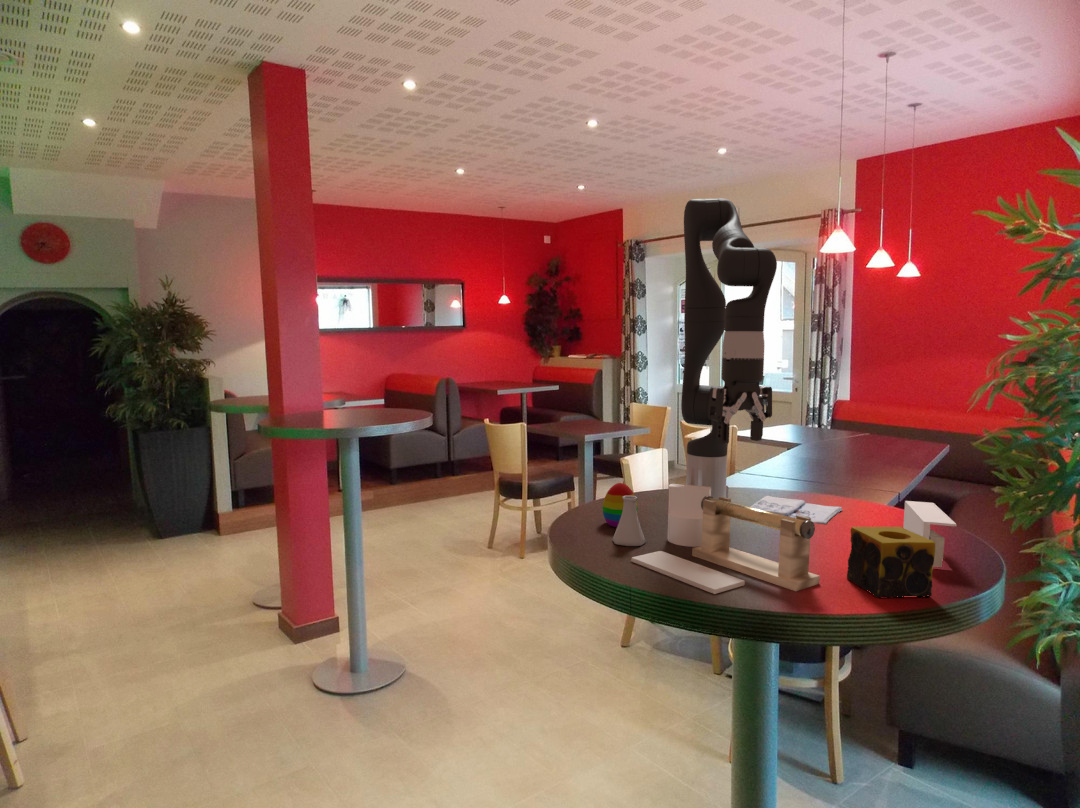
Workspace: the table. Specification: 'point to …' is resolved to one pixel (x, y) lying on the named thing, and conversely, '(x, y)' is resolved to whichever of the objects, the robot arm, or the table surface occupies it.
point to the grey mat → (688, 572)
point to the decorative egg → (615, 503)
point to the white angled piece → (927, 524)
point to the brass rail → (761, 517)
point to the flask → (629, 525)
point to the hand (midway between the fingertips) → (739, 441)
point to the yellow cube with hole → (891, 561)
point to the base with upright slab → (686, 514)
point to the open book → (797, 508)
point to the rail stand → (785, 573)
